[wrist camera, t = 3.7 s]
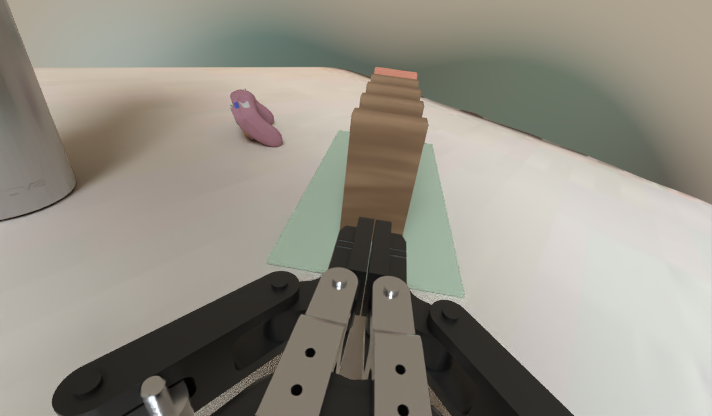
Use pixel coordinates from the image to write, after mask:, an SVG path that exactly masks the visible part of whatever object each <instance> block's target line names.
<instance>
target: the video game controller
mask: <svg viewBox="0 0 712 416" xmlns="http://www.w3.org/2000/svg"><path fill="white" fill-rule="evenodd" d="M230 97H231V100H232V103H233V107H232V105H230V108H231V111H232V113H233V115H234V117H235V120H236V122H237V124H238V125H239V126H240V128H241V129H242V130H243V132H244V134H245V135H246V136H248V137H249V138H250V139H251V140H254V139H255V140H257V141H259V142H261V143H263V144H265V145H267V146H270V147H278V146H280V145H281V143H282V136H281V134H280V133H279V131H278V130H277V129H276V128H274V127H273V126H272V125H271V124H272V123H273V121H274V117H273V115H272V113H271V112H270V111H269V110H268V109H267V108H266V107H264V106H263V105H262V104H260V103H259V102H258V101H257V100H256V98H255V96H254V95H253V94H252V93H250V92H249V91H246V89H244V90H236V91H234V92H232V93H231V95H230Z"/></svg>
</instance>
